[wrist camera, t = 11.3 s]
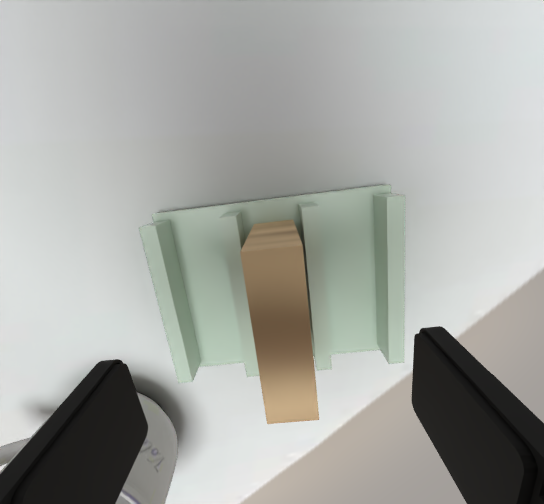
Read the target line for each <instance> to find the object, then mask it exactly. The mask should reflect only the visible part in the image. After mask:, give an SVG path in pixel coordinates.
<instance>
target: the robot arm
mask: <svg viewBox="0 0 544 504" xmlns="http://www.w3.org/2000/svg"><path fill="white" fill-rule="evenodd" d="M412 404H413V408H414V411H415V413H416V415H417V416H418V418H419V420H420V422H421V423H422V425H423V427H424V429H425V431H426V432H427V434H428V436H429V437H430V439H431V441H432V443H433V445H434V446H435V448H436V450H437V452H438V453H439V455H440V457H441V459H442V460H443V462H444V464H445V466H446V467H447V469H448V471H449V473H450V474H451V476H452V478H453V480H454V481H455V483H456V485H457V487H458V488H459V490H460V492H461V494H462V496H463V497H464V499H465V501H466V503H467V504H544V423H543V422H542V421H541V420H540V419H538V418H537V417H536V416H535V415H534V414H533V413H532V412H531V411H530V410H529V409H528V408H527V407H526V406H525V405H524V404H523V403H522V402H521V401H520V400H519V399H518V398H517V397H516V396H515V395H513V393H511V392H510V391H509V390H508V389H507V388H506V387H505V386H504V385H503V384H502V383H501V382H500V381H499V380H498V379H497V378H496V377H495V376H494V375H493V374H491V373H490V372H489V371H488V370H487V369H486V368H485V367H484V366H483V365H482V364H481V363H479V362H478V361H477V360H476V359H475V358H474V357H473V356H472V355H471V354H470V353H469V352H468V351H467V350H466V349H465V348H464V347H463V346H462V345H461V344H460V343H459V342H458V341H457V340H456V339H455V338H454V337H453V336H452V335H451V334H449V333H448V332H447V331H446V330H445V329H444V328H443V327H440V326H439V327H430V328H422V329H421V330H420V332H419V334H416V335H415V338H414V360H413V382H412ZM147 433H148V423H147V420H146V417H145V414H144V412H143V409H142V406H141V403H140V400H139V397H138V395H137V392H136V389H135V386H134V383H133V380H132V378H131V375H130V372H129V369H128V366H127V365H126V364H124V363H123V362H122V361H121V360H118V359H116V360H107V361H101V362H99V363H97V364H96V366H95V367H94V368H93V369H92V370H91V371H90V372H89V373H88V375H87V376H86V377H85V378H84V379H83V380H82V381H81V383H80V384H79V385H78V386H77V387H76V388H75V389H74V391H73V392H72V393H71V394H70V395H69V396H68V397H67V398H66V400H65V401H64V402H63V403H62V404H61V405H60V406H59V408H58V409H57V410H56V411H55V412H54V413H53V414H52V416H51V417H50V418H49V419H48V420H47V421H46V422H45V424H44V425H43V426H42V427H41V428H40V429H39V430H38V431H37V433H36V434H35V435H34V436H33V437H32V438H31V439H30V441H29V442H28V443H27V444H26V445H25V446H24V447H23V449H22V450H21V451H20V452H19V453H18V454H17V455H16V457H15V458H14V459H13V460H12V461H11V462H10V463H9V464H8V466H7V467H6V468H5V469H4V470H3V471H2V472H1V474H0V504H115V503H116V501H117V499H118V497H119V495H120V493H121V491H122V488H123V486H124V484H125V482H126V480H127V478H128V475H129V473H130V471H131V469H132V467H133V465H134V463H135V460H136V458H137V456H138V454H139V452H140V450H141V447H142V445H143V443H144V441H145V439H146V436H147Z"/></svg>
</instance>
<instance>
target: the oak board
mask: <svg viewBox="0 0 544 504" xmlns="http://www.w3.org/2000/svg"><path fill="white" fill-rule="evenodd" d="M240 255H241V261H242V268H243V274H244V280H245V286H246V293H247V299H248V305H249V312H250V318H251V324H252V331H253V337H254V343H255V349H256V356H257V362H258V368H259V375H260V381H261V387H262V394H263V400H264V406H265V413H266V419H267V424H273V423H285V422H298V421H310V420H319V412H318V402H317V391H316V381H315V370H314V359H313V349H312V338H311V328H310V317H309V307H308V296H307V286H306V275H305V265H304V254H303V245H302V242H301V239H300V237H299V234H298V231H297V229H296V226H295V223H294V221H293V219H292V220H284V221H275V222H267V223H258V224H254V225H253V227H252V229H251V231H250V233H249V235H248V237H247V239H246V241H245V243H244V245H243V247H242V249H241V251H240Z"/></svg>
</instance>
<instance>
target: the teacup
mask: <svg viewBox="0 0 544 504" xmlns="http://www.w3.org/2000/svg"><path fill="white" fill-rule="evenodd" d="M137 395H138V397H139V400H140V403H141V406H142V409H143V412H144V414H145V417H146V420H147V423H148V433H147V436H146V439H145V441H144V443H143V445H142V447H141V450H140V452H139V454H138V456H137V458H136V460H135V463H134V465H133V467H132V469H131V471H130V473H129V475H128V478H127V480H126V482H125V484H124V486H123V488H122V491H121V493H120V495H119V497H118V499H117V501H116V503H115V504H165V500H166V497H167V494H168V491H169V488H170V484H171V481H172V477H173V473H174V469H175V466H176V460H177V453H178V440H177V435H176V431H175V429H174V426H173V424H172V422H171V421H170V419H169V417H168V416H167V415H166V414H165V412H164V411H163V410H162V409H161V408H160V406H159V405H158V404H157V403H155V402H154V401H153V400H152V399H150V398H148V397H147V396H145V395H142V394H140V393H137ZM44 424H45V423H44ZM44 424H43V425H44ZM43 425H42V426H43ZM42 426H41V427H42ZM41 427H40V428H41ZM40 428H39V429H40ZM39 429H38V430H39ZM38 430H37V431H38ZM37 431H36V432H35V433H34V434H33V435H32V437H33V436H34V435H35V434H36V433H37ZM32 437H31V438H32ZM31 438H27V439H24V440H20V441H17V442H13V443H10V444H7V445H4V446H1V447H0V466H2V465H4V464H7V465H6V466H5V467H4V468H3V469H2V470H1V471H0V474H1V472H2V471H3V470H4V469H5V468H6V467H7V466H8V464H9V463H10V462H11V461H12V460H13V459H14V458H15V457H16V455H17V454H18V453H19V452H20V451H21V450H22V449H23V447H24V446H25V445H26V444H27V443H28V442H29V441H30V439H31Z"/></svg>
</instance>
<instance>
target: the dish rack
mask: <svg viewBox="0 0 544 504" xmlns="http://www.w3.org/2000/svg"><path fill="white" fill-rule="evenodd" d="M152 218H153V223H150V224H148V225H145V226H142V227H139V231H140V235H141V239H142V242H143V246H144V250H145V254H146V258H147V262H148V266H149V270H150V274H151V278H152V281H153V285H154V289H155V293H156V297H157V301H158V305H159V309H160V313H161V317H162V321H163V324H164V328H165V332H166V336H167V340H168V344H169V348H170V352H171V356H172V360H173V363H174V367H175V371H176V375H177V379H178V383H186V382H193V380H194V377H195V375H196V372H197V370H198V368H199V367H204V366H214V365H225V364H235V363H244V364H245V369H246V375H247V377H251V376H260V375H259V368H258V362H257V356H256V349H255V343H254V337H253V331H252V324H251V318H250V312H249V305H248V299H247V293H246V286H245V280H244V274H243V268H242V261H241V255H240V251H241V249H242V247H243V245H244V243H245V241H246V239H247V237H248V235H249V233H250V231H251V229H252V227H253V225H254V224H258V223H267V222H275V221H284V220H292V219H293V221H294V223H295V226H296V229H297V231H298V234H299V237H300V239H301V242H302V245H303V254H304V265H305V275H306V286H307V296H308V307H309V317H310V328H311V338H312V349H313V356H314V359H315V364H316V368H317V370H328V369H332V366H331V354H342V353H353V352H363V351H374V350H381V352H382V353H383V355H384V357H385V358H386V360H387V362H388V363H389V364H394V363H404V293H405V195H399V194H392V193H391V185H377V186H368V187H360V188H352V189H344V190H336V191H328V192H320V193H312V194H304V195H296V196H288V197H280V198H272V199H264V200H256V201H248V202H240V203H232V204H224V205H216V206H207V207H199V208H191V209H183V210H175V211H167V212H159V213H155V214H152Z"/></svg>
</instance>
